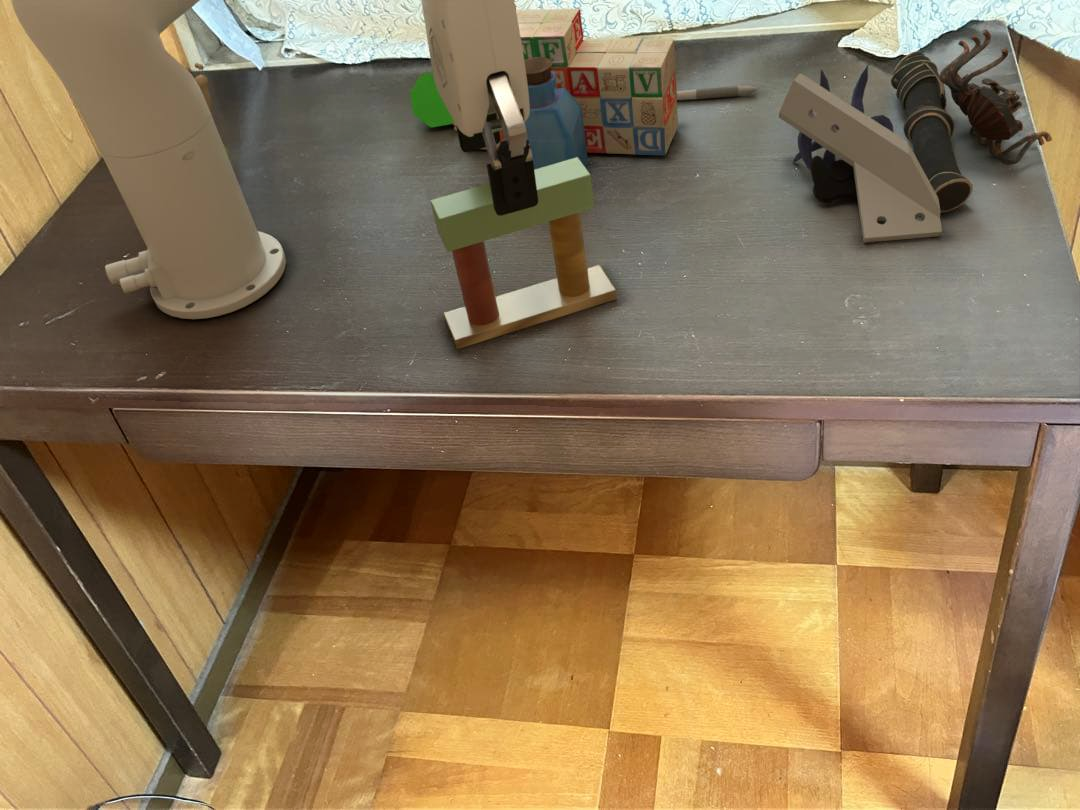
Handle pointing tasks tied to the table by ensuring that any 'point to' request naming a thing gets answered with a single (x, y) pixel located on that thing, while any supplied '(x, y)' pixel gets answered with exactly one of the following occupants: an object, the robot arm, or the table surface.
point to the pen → (715, 92)
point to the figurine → (826, 172)
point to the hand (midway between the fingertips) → (498, 176)
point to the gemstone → (429, 102)
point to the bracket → (868, 163)
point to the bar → (477, 221)
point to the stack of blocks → (608, 81)
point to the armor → (930, 128)
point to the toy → (988, 104)
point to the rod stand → (526, 289)
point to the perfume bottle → (552, 118)
